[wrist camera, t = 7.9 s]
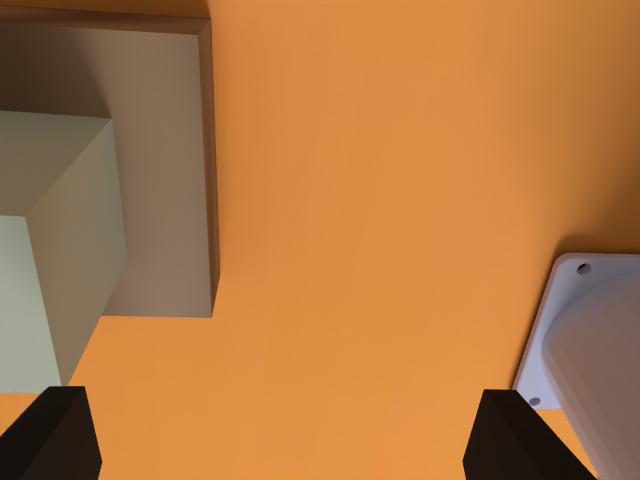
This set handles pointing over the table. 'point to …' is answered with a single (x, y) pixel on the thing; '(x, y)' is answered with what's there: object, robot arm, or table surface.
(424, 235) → the table surface
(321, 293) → the table surface
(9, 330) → the sage cube
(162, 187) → the walnut base
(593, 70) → the table surface
